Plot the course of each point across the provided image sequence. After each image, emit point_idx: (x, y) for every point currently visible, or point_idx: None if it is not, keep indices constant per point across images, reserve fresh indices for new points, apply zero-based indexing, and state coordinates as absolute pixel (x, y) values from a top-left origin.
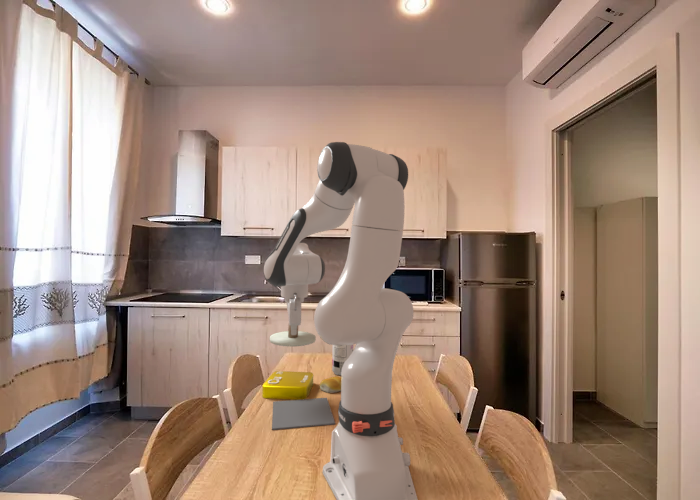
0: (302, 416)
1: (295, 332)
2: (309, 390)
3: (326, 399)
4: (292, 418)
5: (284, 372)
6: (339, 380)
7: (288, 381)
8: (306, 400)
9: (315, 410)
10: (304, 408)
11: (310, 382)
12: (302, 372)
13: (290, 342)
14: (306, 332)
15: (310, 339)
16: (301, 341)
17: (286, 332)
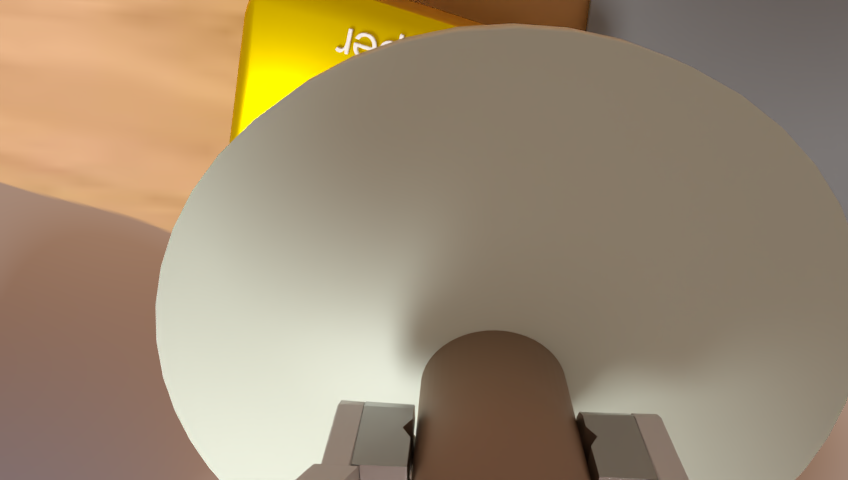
0: (825, 99)
1: (668, 453)
2: (461, 18)
3: None
4: (822, 156)
5: None
6: None
7: None
8: None
9: (783, 8)
10: (721, 77)
11: (423, 12)
12: (259, 67)
13: (785, 437)
14: (228, 177)
15: (723, 155)
16: (793, 305)
17: (252, 443)
